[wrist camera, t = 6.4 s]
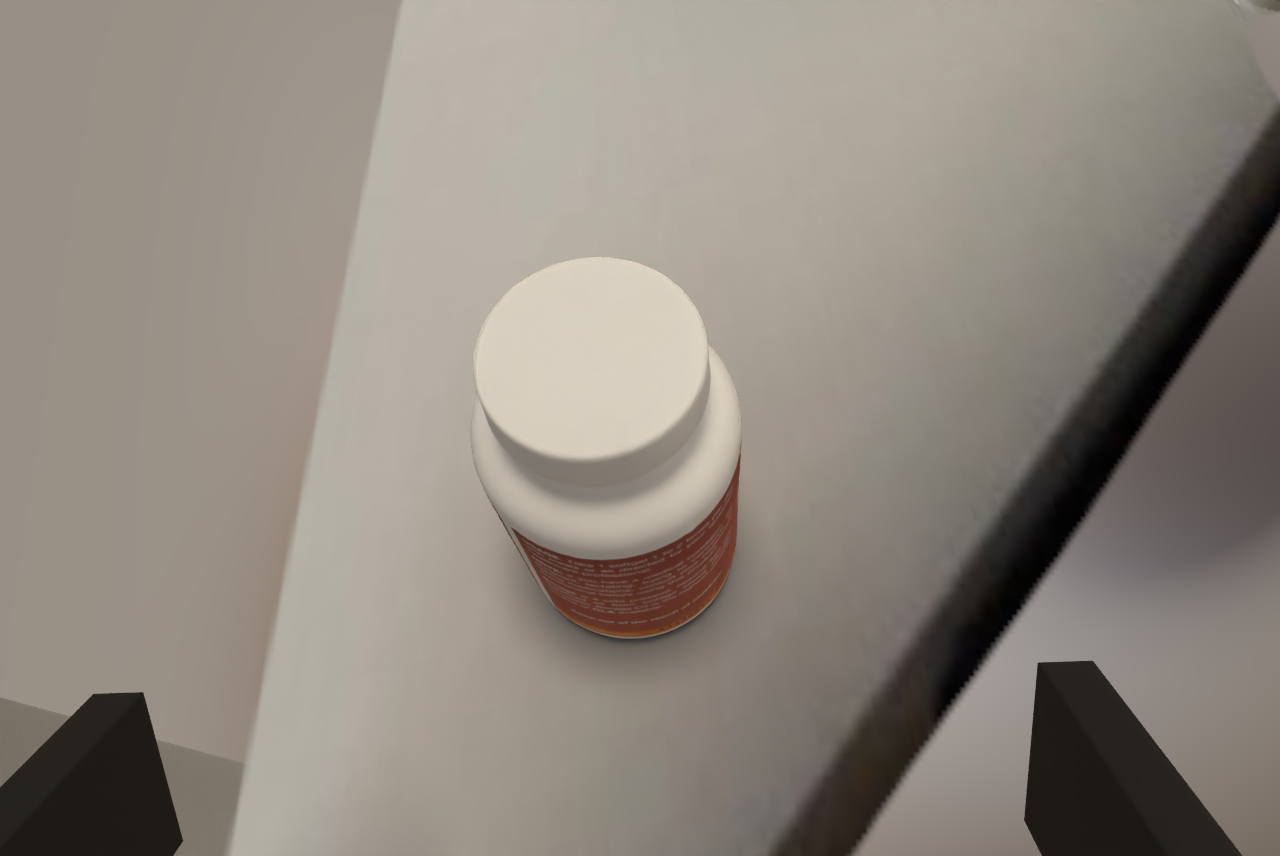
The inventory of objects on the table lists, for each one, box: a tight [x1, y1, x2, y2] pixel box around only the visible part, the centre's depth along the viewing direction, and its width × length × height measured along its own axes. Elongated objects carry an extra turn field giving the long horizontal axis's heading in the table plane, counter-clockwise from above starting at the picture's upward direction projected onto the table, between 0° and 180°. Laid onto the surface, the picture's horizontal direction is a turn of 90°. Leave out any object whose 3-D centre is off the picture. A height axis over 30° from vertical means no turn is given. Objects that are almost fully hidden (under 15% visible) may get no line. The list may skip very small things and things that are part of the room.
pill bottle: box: [471, 257, 741, 639], centre depth 23 cm, size 6×6×11 cm
